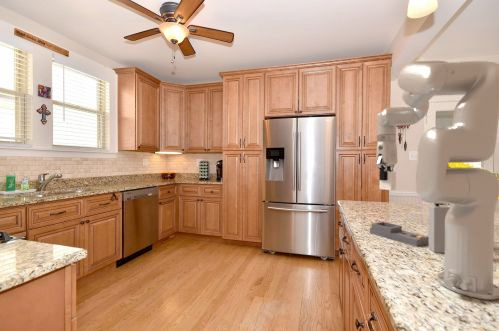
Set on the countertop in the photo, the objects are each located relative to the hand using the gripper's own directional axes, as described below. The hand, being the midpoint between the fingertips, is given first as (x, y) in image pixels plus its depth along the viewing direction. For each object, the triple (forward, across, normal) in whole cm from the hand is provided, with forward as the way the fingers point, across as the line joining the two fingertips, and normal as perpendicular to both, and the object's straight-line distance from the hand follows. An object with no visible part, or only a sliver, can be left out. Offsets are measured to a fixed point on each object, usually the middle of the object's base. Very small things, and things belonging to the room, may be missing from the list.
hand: (386, 179), depth 107 cm
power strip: (+26, 0, -5) cm, 26 cm away
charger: (+4, 0, -1) cm, 4 cm away
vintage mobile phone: (+25, -4, -21) cm, 33 cm away
